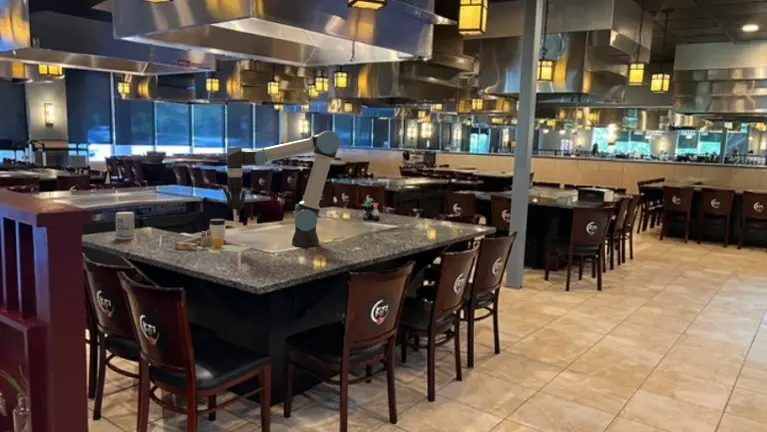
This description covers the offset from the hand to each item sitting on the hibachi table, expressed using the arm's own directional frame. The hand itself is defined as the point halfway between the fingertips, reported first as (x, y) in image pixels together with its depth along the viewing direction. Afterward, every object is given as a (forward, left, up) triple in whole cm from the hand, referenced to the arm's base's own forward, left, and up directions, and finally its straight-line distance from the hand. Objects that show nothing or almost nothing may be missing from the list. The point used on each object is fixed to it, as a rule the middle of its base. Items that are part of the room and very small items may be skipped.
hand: (236, 221), depth 299 cm
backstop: (+24, 0, -15) cm, 28 cm away
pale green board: (+11, 0, -15) cm, 18 cm away
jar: (+23, -18, -15) cm, 32 cm away
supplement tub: (+72, -2, -15) cm, 73 cm away
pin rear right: (+18, -2, -15) cm, 23 cm away
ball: (+11, +1, -12) cm, 16 cm away
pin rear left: (+18, +3, -15) cm, 23 cm away
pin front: (+15, 0, -14) cm, 20 cm away
